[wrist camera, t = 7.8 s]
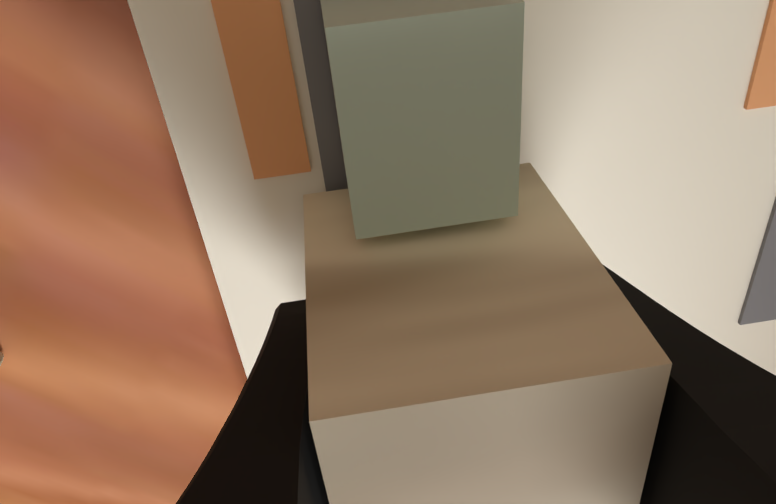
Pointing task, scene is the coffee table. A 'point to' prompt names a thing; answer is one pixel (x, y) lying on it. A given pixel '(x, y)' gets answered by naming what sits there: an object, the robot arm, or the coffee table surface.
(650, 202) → the white base plate
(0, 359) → the skincare box
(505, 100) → the tab
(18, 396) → the coffee table surface
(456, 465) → the block
